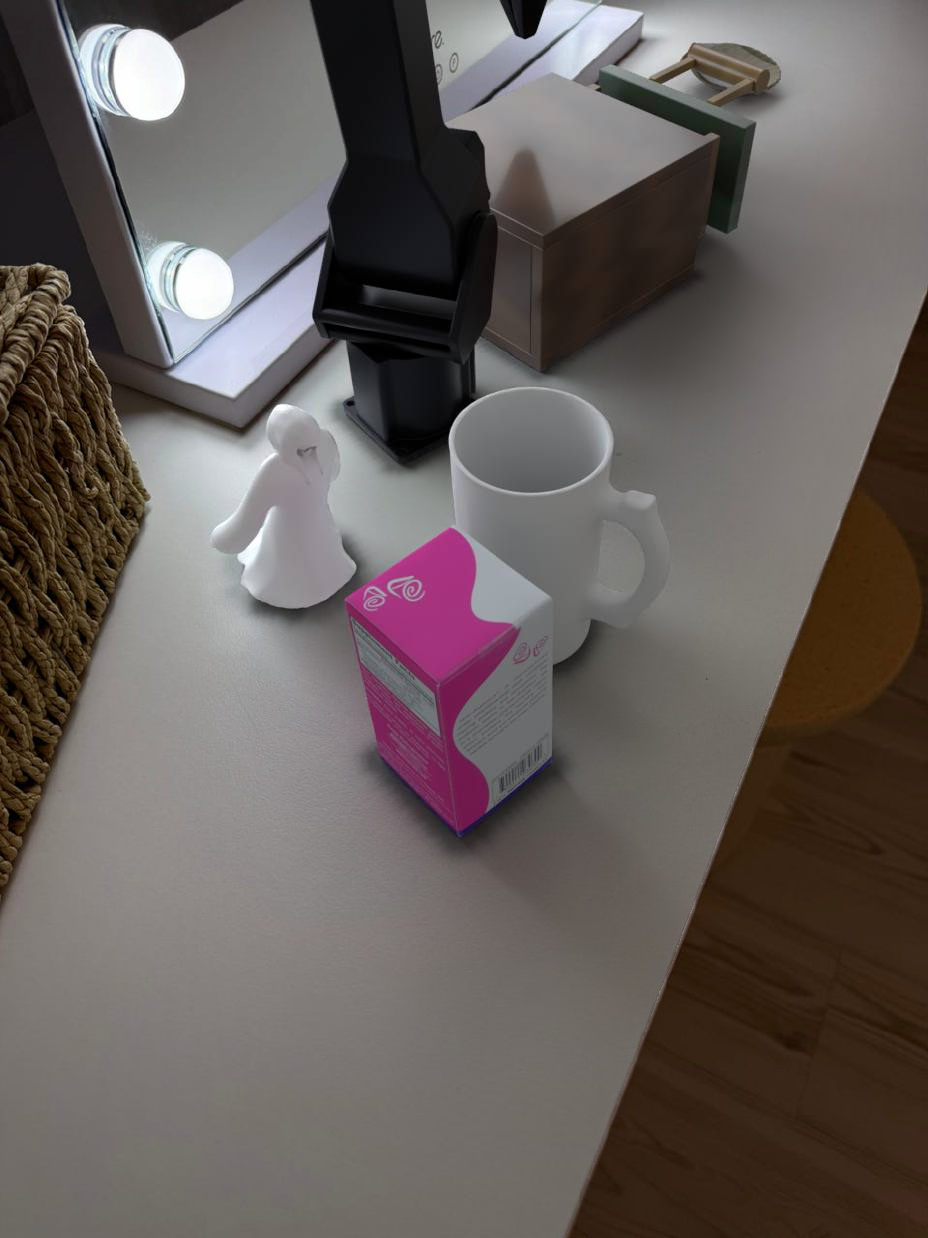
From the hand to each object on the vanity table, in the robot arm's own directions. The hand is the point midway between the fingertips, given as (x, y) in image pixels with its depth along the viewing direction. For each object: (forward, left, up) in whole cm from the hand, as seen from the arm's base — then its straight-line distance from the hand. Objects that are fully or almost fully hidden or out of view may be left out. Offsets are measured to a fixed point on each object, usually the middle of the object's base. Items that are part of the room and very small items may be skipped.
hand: (525, 35), depth 64 cm
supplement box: (-30, -33, -13) cm, 47 cm away
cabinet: (-3, -6, -13) cm, 15 cm away
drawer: (+6, -5, -12) cm, 14 cm away
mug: (-22, -30, -13) cm, 40 cm away
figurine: (-30, -18, -13) cm, 37 cm away
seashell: (+27, +6, -13) cm, 31 cm away
